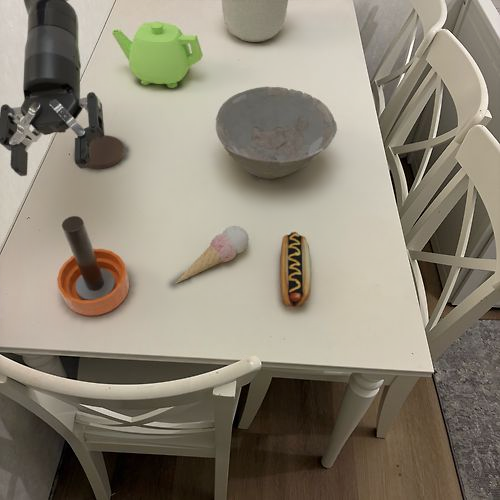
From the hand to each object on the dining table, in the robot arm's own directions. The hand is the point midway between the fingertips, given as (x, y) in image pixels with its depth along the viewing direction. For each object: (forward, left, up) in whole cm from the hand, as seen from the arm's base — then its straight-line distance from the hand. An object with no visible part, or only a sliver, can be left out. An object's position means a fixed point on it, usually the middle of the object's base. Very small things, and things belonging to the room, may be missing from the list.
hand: (50, 169), depth 66 cm
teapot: (+25, +49, -20) cm, 59 cm away
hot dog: (+32, -15, -20) cm, 41 cm away
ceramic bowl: (+39, +13, -20) cm, 46 cm away
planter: (+53, +62, -20) cm, 84 cm away
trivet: (+7, +26, -20) cm, 33 cm away
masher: (+1, -7, -19) cm, 21 cm away
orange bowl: (+1, -7, -20) cm, 21 cm away
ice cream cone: (+20, -7, -20) cm, 29 cm away
